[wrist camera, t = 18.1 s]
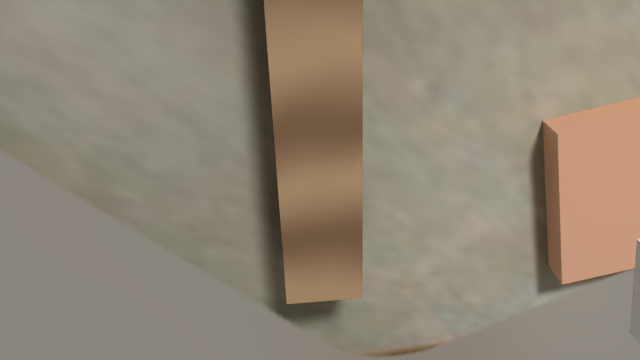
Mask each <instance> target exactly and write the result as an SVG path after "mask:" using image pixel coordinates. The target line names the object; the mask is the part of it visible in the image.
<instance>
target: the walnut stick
mask: <svg viewBox="0 0 640 360" xmlns="http://www.w3.org/2000/svg"><path fill="white" fill-rule="evenodd" d="M264 12H265V25H266V38H267V52H268V65H269V78H270V91H271V104H272V117H273V131H274V144H275V157H276V170H277V183H278V196H279V210H280V223H281V236H282V249H283V262H284V275H285V289H286V302H287V304H295V303H308V302H320V301H333V300H345V299H358V298H362V0H264Z"/></svg>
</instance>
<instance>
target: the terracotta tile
mask: <svg viewBox="0 0 640 360" xmlns="http://www.w3.org/2000/svg"><path fill="white" fill-rule="evenodd" d="M542 121H543V145H544V169H545V193H546V216H547V240H548V264H549V267H550V268H551V270H552V271H553V273H554V274H555V275H556V277H557V278H558V280H559V281H560V282H561V284H562V285H563V284H568V283H572V282H576V281H581V280H585V279H590V278H594V277H598V276H603V275H607V274H611V273H616V272H620V271H625V270H629V269H633V268H635V257H636V244H637V239H640V97H639V98H635V99H631V100H626V101H622V102H618V103H614V104H610V105H605V106H601V107H597V108H593V109H588V110H584V111H580V112H576V113H571V114H567V115H563V116H559V117H555V118H550V119H546V120H542Z"/></svg>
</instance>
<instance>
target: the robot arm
mask: <svg viewBox="0 0 640 360" xmlns="http://www.w3.org/2000/svg"><path fill="white" fill-rule="evenodd" d="M630 333H631V334H632V336H633V337H634V338H635V339H636V341H637V342H638V343H639V344H640V239H637V244H636V257H635V270H634V284H633V296H632V309H631V323H630Z"/></svg>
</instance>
